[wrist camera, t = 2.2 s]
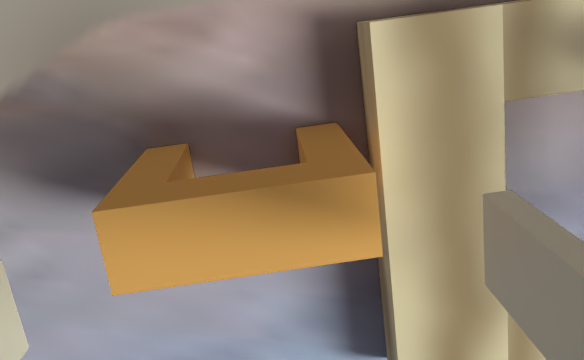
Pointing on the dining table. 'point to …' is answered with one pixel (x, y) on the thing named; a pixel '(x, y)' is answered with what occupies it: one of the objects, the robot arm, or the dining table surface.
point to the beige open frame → (453, 160)
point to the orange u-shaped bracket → (238, 216)
